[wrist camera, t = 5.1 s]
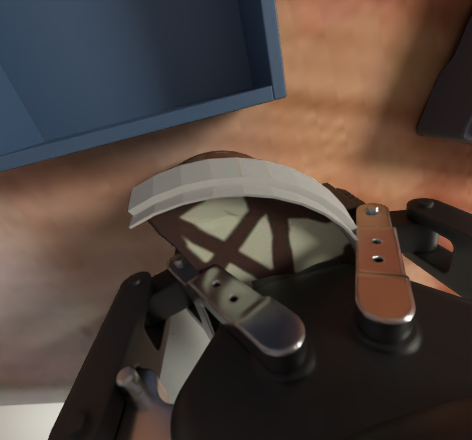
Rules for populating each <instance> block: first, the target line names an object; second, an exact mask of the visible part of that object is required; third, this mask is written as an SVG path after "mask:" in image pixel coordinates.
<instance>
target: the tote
mask: <svg viewBox="0 0 472 440" xmlns="http://www.w3.org/2000/svg"><path fill="white" fill-rule="evenodd" d="M286 96H287V94H286V86H285V77H284V69H283V60H282V52H281V44H280V35H279V27H278V18H277V10H276V1H275V0H0V172H2V171H6V170H10V169H14V168H17V167H21V166H25V165H29V164H33V163H37V162H40V161H44V160H48V159H52V158H56V157H60V156H63V155H67V154H71V153H75V152H79V151H82V150H86V149H90V148H94V147H98V146H102V145H105V144H109V143H113V142H117V141H121V140H125V139H128V138H132V137H136V136H140V135H144V134H148V133H151V132H155V131H159V130H163V129H167V128H171V127H174V126H178V125H182V124H186V123H190V122H193V121H197V120H201V119H205V118H209V117H213V116H216V115H220V114H224V113H228V112H232V111H236V110H239V109H243V108H247V107H251V106H255V105H259V104H262V103H266V102H270V101H273V100H277V99H281V98H285V97H286Z"/></svg>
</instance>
